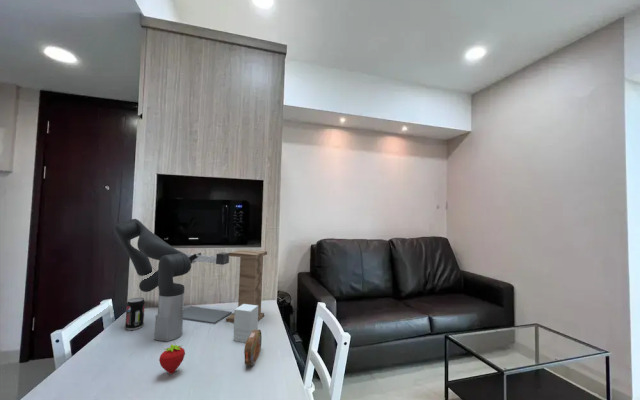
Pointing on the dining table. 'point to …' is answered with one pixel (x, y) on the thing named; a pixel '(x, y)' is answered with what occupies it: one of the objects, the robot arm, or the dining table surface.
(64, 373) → the dining table surface
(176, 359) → the strawberry
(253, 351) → the tin
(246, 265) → the walnut shelf stand
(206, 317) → the charcoal mat
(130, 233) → the robot arm
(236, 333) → the supplement box
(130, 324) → the beverage can
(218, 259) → the steel bar
